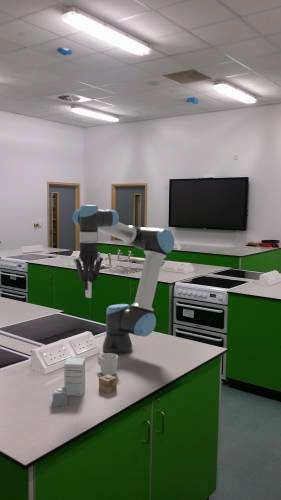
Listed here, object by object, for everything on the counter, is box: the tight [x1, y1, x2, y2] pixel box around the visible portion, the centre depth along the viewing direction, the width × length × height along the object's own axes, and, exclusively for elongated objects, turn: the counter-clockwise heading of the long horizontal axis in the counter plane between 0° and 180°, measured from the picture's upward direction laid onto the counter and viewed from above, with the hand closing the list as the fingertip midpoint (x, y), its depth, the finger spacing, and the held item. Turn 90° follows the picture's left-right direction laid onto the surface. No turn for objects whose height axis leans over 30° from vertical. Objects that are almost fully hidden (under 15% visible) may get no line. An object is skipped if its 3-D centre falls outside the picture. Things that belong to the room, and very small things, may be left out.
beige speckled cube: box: [98, 374, 118, 394], centre depth 174 cm, size 5×5×5 cm
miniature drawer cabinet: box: [63, 357, 86, 397], centre depth 171 cm, size 7×7×13 cm
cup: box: [97, 352, 119, 376], centre depth 191 cm, size 11×8×8 cm
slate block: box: [52, 386, 68, 408], centre depth 162 cm, size 5×5×5 cm
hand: (88, 297), depth 185 cm, fingers closed
